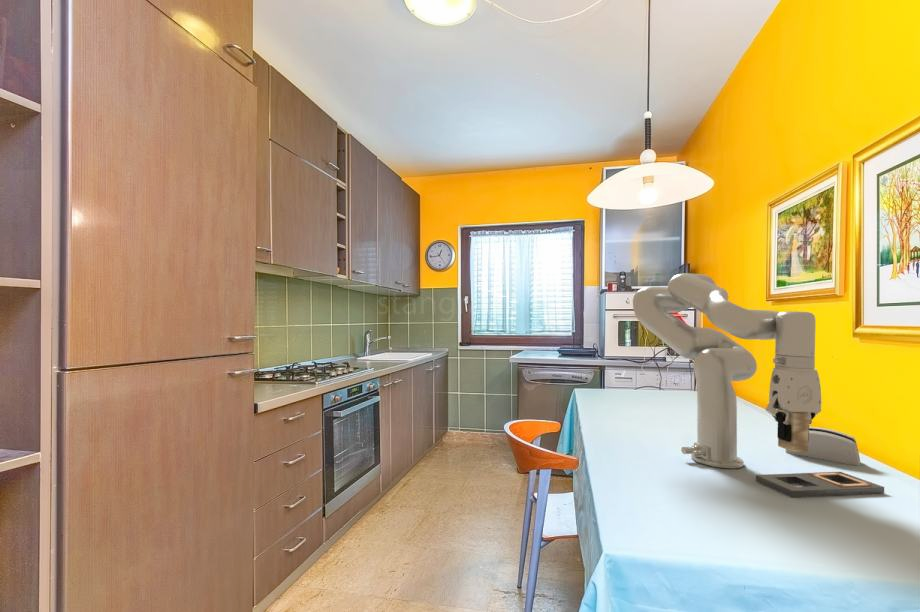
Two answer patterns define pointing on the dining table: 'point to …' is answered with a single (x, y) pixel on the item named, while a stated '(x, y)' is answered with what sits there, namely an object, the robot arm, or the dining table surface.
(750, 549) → the dining table surface
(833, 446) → the grey slotted arched block
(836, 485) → the grey flat holed plate
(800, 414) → the plug
